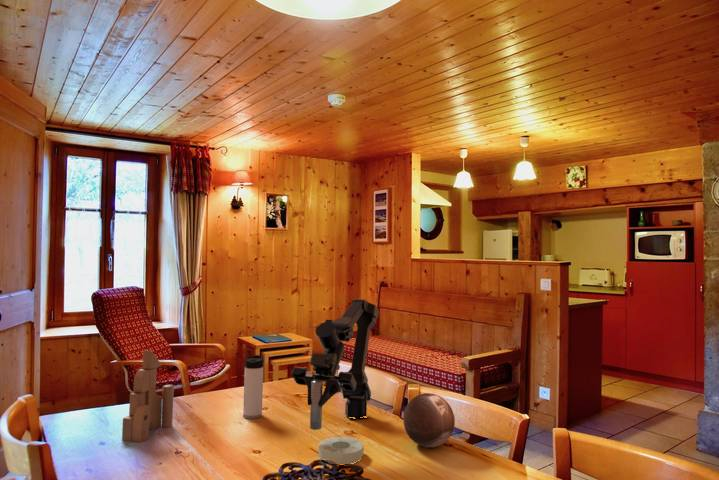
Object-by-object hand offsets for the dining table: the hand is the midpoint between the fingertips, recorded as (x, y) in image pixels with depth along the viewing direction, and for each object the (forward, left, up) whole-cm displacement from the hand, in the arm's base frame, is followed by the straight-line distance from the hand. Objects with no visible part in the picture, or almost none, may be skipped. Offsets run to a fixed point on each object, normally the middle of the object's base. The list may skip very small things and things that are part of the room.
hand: (314, 405), depth 134 cm
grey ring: (-7, +3, -13) cm, 16 cm away
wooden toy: (+44, -30, -14) cm, 55 cm away
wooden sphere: (-34, +3, -14) cm, 37 cm away
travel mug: (+12, -37, -14) cm, 41 cm away
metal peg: (-1, -1, -7) cm, 7 cm away
